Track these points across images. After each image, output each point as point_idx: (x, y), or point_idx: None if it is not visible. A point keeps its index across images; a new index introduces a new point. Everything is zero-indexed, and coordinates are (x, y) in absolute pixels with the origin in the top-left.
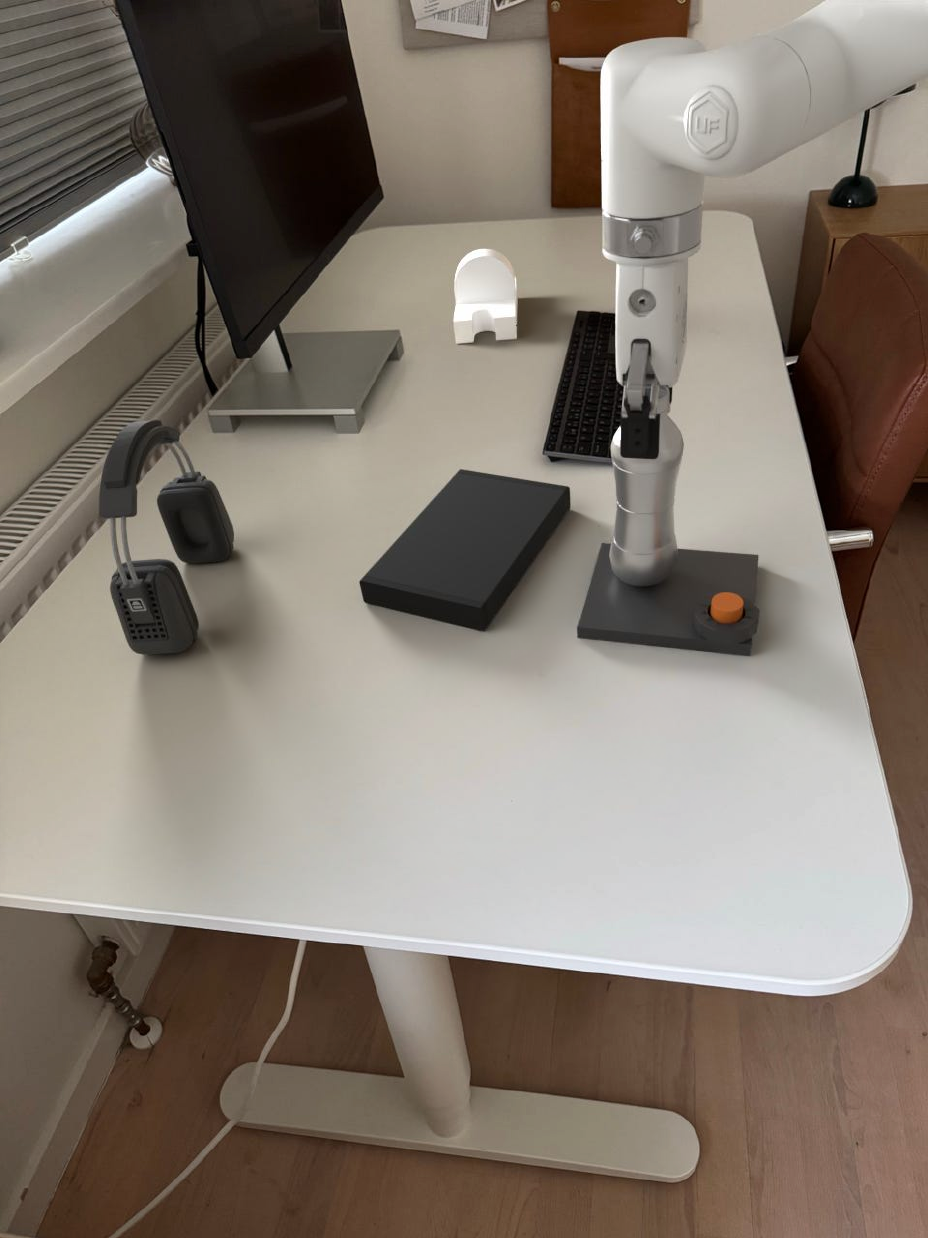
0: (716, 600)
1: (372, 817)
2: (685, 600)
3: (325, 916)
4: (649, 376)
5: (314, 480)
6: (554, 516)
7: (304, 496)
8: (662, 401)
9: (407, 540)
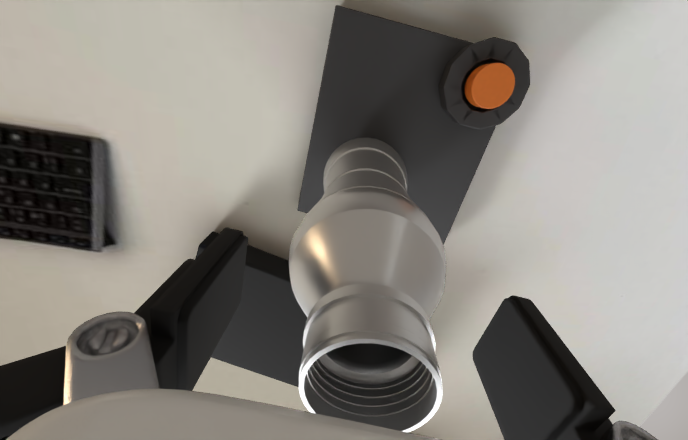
0: (486, 101)
1: (596, 372)
2: (422, 128)
3: (665, 389)
4: (205, 344)
5: None
6: (252, 258)
7: None
8: (431, 352)
9: None
